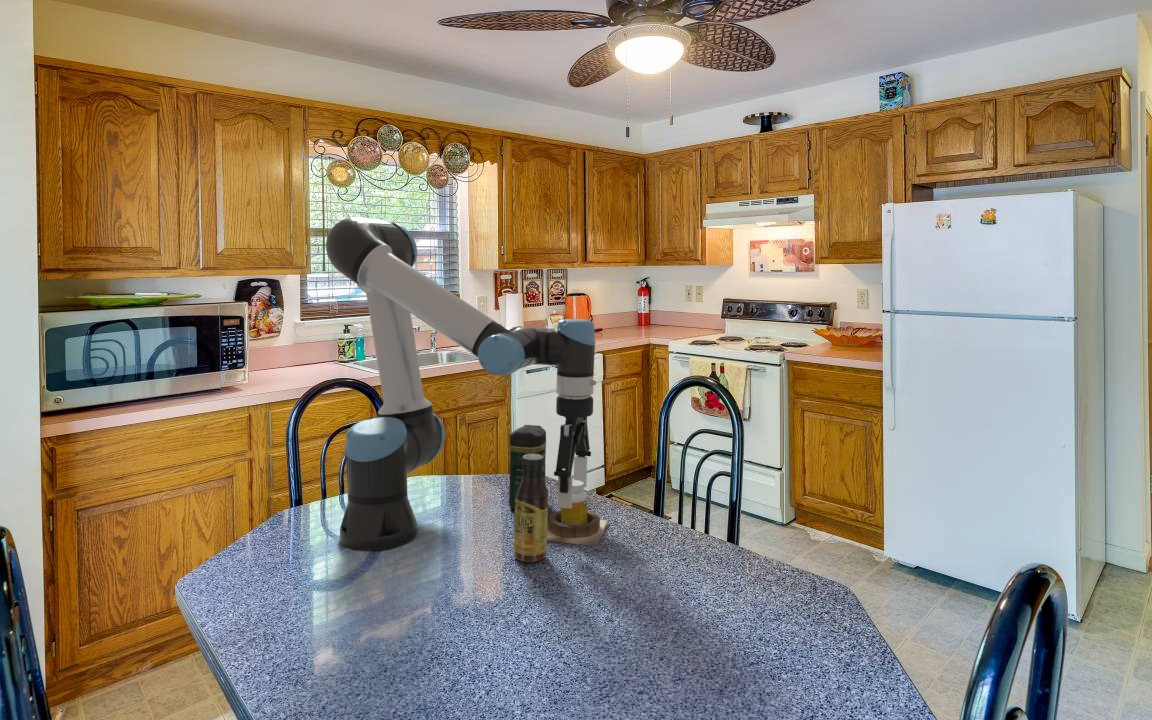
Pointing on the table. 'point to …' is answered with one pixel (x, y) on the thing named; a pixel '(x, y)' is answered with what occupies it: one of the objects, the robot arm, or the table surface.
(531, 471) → the sauce bottle
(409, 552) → the table surface
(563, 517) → the supplement bottle
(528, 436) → the coffee jar
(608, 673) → the table surface
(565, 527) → the collar
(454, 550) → the table surface
